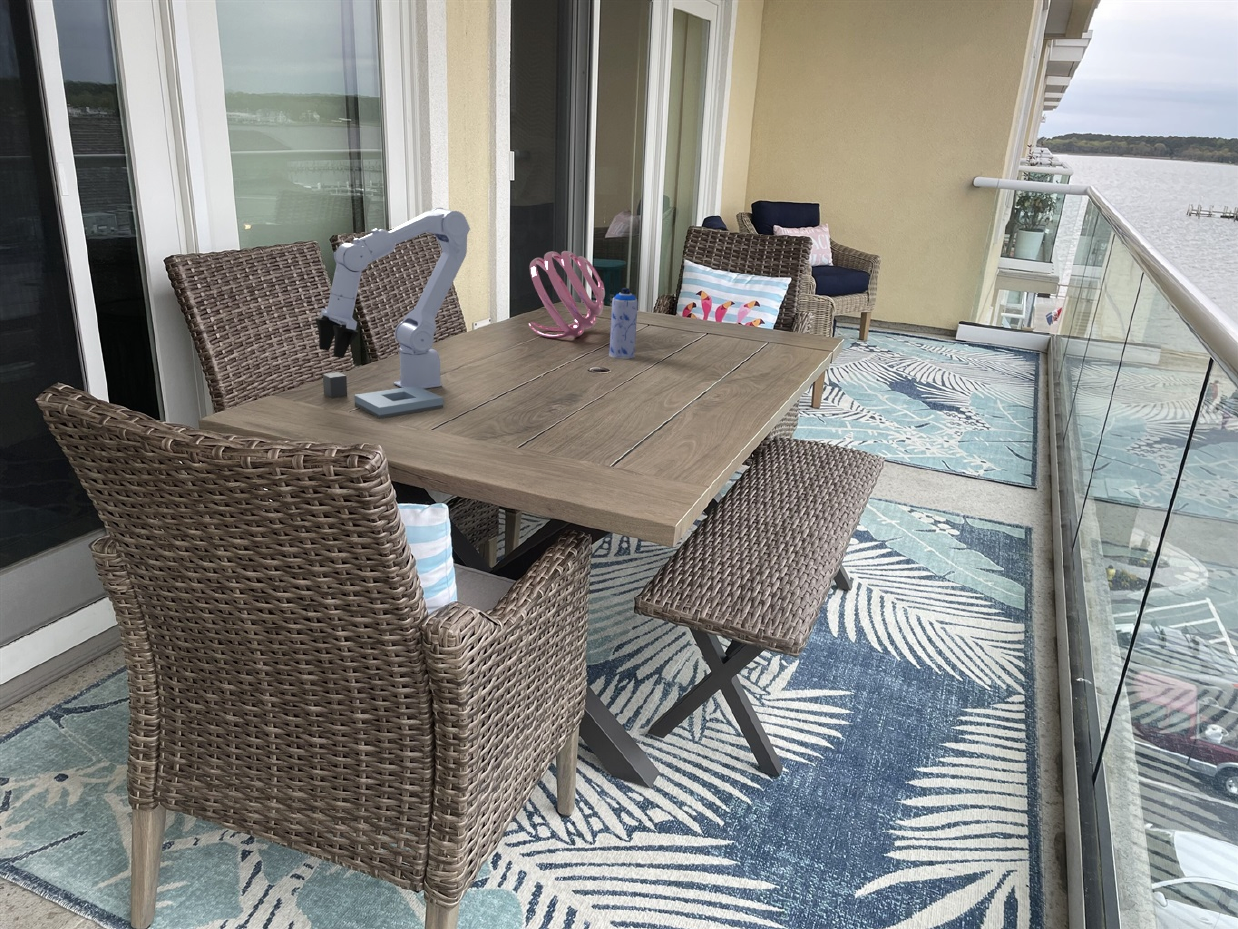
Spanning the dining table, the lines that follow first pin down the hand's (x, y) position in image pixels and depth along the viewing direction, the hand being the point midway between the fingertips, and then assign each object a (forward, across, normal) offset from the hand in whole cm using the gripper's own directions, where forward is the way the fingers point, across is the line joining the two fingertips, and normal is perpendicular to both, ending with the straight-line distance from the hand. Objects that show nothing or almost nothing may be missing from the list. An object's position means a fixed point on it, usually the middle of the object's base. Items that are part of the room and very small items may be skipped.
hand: (331, 353), depth 208 cm
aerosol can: (-13, +2, +89) cm, 90 cm away
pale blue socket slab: (+7, +16, +11) cm, 21 cm away
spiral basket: (-13, -28, +91) cm, 96 cm away
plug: (+10, 0, +3) cm, 10 cm away
